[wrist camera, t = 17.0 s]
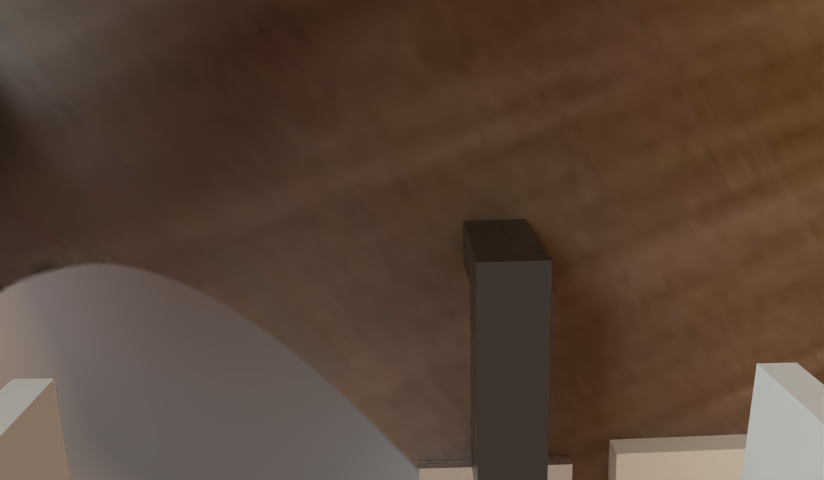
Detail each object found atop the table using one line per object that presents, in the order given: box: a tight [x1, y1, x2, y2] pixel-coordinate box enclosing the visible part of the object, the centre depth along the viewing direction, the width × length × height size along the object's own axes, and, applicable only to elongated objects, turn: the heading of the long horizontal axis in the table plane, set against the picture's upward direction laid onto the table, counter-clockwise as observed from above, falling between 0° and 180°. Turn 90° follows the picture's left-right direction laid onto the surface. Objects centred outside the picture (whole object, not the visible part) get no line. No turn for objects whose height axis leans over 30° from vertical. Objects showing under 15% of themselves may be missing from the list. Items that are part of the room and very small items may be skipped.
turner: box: [419, 219, 573, 480], centre depth 35 cm, size 20×8×7 cm, turn 2°
